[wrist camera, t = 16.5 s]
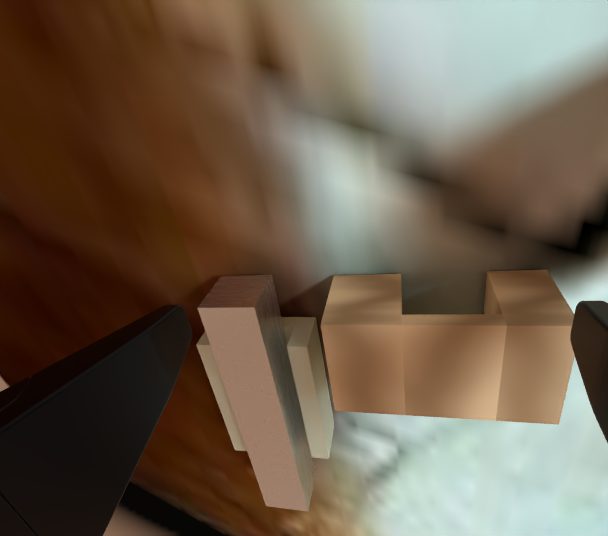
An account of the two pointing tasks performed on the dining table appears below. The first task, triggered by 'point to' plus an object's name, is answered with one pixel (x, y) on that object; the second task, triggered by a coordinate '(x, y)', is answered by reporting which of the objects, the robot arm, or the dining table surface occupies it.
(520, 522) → the dining table surface
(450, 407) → the tan u-shaped block
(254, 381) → the pinkish brown square bar
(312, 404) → the cradle
